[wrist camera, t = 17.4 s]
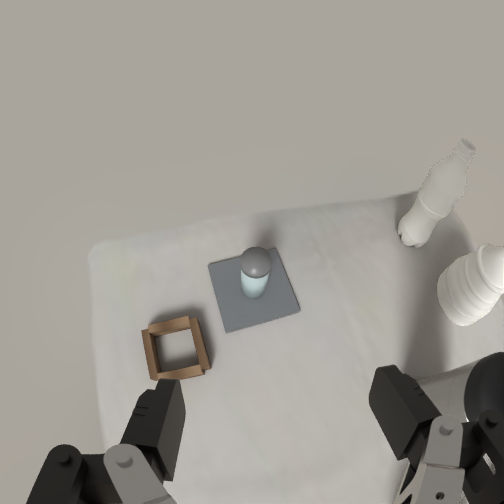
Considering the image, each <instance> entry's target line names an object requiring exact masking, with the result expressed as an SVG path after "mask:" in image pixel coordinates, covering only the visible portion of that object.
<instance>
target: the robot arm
mask: <svg viewBox="0 0 504 504" xmlns="http://www.w3.org/2000/svg"><path fill="white" fill-rule="evenodd" d="M369 404H370V407H371V409H372V411H373V413H374V415H375V417H376V419H377V421H378V423H379V425H380V427H381V429H382V431H383V433H384V435H385V436H386V438H387V440H388V442H389V444H390V446H391V448H392V450H393V452H394V454H395V456H396V458H397V460H401V459H404V458H407V457H408V459H409V463H408V464H407V467H406V470H405V473H404V476H403V479H402V481H401V484H400V487H399V490H398V492H397V495H396V497H395V499H394V501H393V503H392V504H459V502H460V497H461V492H462V490H463V492H464V494H465V496H466V498H467V500H468V502H469V504H504V352H498V353H494V354H491V355H489V356H487V357H484V358H482V359H479V360H477V361H474V362H472V363H469V364H467V365H464V366H462V367H459V368H456V369H453V370H450V371H447V372H444V373H441V374H438V375H435V376H432V377H428V378H425V379H422V380H418V381H416V380H415V379H413V378H412V377H410V376H409V375H407V374H402V373H401V372H400V370H399V369H398V368H397V366H396V365H389V366H384V367H378V368H377V369H376V371H375V375H374V379H373V382H372V386H371V390H370V393H369ZM185 414H186V412H185V404H184V399H183V395H182V390H181V385H180V381H179V379H167V378H160V379H159V381H158V383H157V386H156V389H155V390H151V389H147V390H146V391H145V392H144V393H143V394H142V395H141V396H140V397H139V399H138V401H137V403H136V406H135V408H134V410H133V413H132V415H131V417H130V420H129V422H128V425H127V427H126V430H125V432H124V435H123V437H122V439H121V442H120V444H118V445H115V446H113V447H111V448H109V449H108V450H107V451H106V453H105V454H91V455H89V454H81V453H80V452H79V450H78V449H77V448H75V447H74V446H71V445H66V444H63V445H58V446H56V447H54V448H53V449H52V450H51V451H50V452H49V454H48V456H47V458H46V460H45V462H44V464H43V466H42V468H41V471H40V473H39V475H38V477H37V479H36V482H35V484H34V486H33V488H32V491H31V493H30V495H29V498H28V500H27V503H26V504H177V503H176V502H175V501H174V499H173V498H172V497H171V496H170V495H169V494H168V492H167V491H166V490H165V488H164V487H163V482H164V480H165V481H172V482H173V477H174V472H175V467H176V462H177V457H178V451H179V447H180V442H181V437H182V432H183V427H184V422H185ZM485 453H487V455H488V456H489V458H490V460H491V461H492V463H493V464H494V466H495V469H496V472H495V475H493V473H492V471H491V470H490V468H489V466H488V465H487V463H486V462H485V460H484V458H483V456H484V455H485Z"/></svg>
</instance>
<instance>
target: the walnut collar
mask: <svg viewBox="0 0 504 504" xmlns="http://www.w3.org/2000/svg"><path fill="white" fill-rule="evenodd" d="M148 328H149V329H145V330H141V331H142V337H143V343H144V349H145V354H146V360H147V365H148V370H149V374H150V379H152V380H155V381H157V380H159V379H160V378H167V379H179V380H182V379H187V378H191V377H196V376H200V375H204V370H208V369H211V366H210V363H209V359H208V355H207V351H206V348H205V344H204V340H203V336H202V332H201V328H200V324H199V321H198V319H197V318H192V319H190V318H189V317H188V316H184V317H180V318H176V319H172V320H168V321H164V322H159V323H155V324H151V325H148ZM190 328H191V331H192V336H193V340H194V344H195V348H196V352H197V356H198V360H199V365H195V366H191V367H186V368H182V369H177V370H172V371H168V372H163V373H161V368H160V364H159V359H158V354H157V349H156V344H155V338H154V337H155V336H160V335H164V334H169V333H173V332H177V331H182V330H186V329H190Z"/></svg>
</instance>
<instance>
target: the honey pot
mask: <svg viewBox="0 0 504 504" xmlns="http://www.w3.org/2000/svg"><path fill="white" fill-rule="evenodd" d="M501 294H504V246H493V245H491V244H487V243H484V244H482V245H480V246H479V247H478V249H477V251H473V252H471V253H469V254H467V255H463V256H461V257H459V258H457V259H456V260H455V261H454V262H453V263H452V264H450V265H449V266H448V267H447V268H446V269H445V270H444V271H443V272H442V273H441V275H440V277H439V279H438V283H437V296H438V299H439V303H440V305H441V307H442V310H443V311H444V313H445V314H446V315H447V317H448V318H449V319H450V320H451V321H453V322H454V323H456V324H458V325H462V326H467V325H470V324H472V323H474V322H475V321H477V320H479V319H480V318H482V317H483V316H485V315H486V314H488V313H489V312H490V311H491V309H492V308H493V306H494V305H495V303H496V302H497V301H498V300H499V298H500V296H501Z"/></svg>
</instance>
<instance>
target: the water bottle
mask: <svg viewBox="0 0 504 504" xmlns="http://www.w3.org/2000/svg"><path fill="white" fill-rule="evenodd" d="M475 152H476V148H475V147H474V146H473V144H472V143H470V142H469V141H468V140H466V139H461V140H460V142H459V144H458V145H457V146H456V147H455V148H454V153H453V154H452V155H450V156H449V157H447V158H445V159H443V160H441V161H439V162H437V163H436V164H435V165H434V166H433V167H432V168H431V170H430V173H429V174H428V176H427V178H426V180H425V181H424V183H423V185H422V187H421V188H420V189H419V192H418V195H417V198H416V200H415V203H414V204H413V206H412V208H411V209H410V210H409V211H408V213H406V214H405V215H404V216H402V218H401V220H400V222H399V225H398V234H399V235H402V237H401V240H402V242H403V244H405V245H406V246H413V245H414V247H420V246H422V245H424V244H425V243H426V242H427V241H428V240H429V238H430V236H431V233H432V231H433V229H434V227H435V226H436V224H437V223H438V222H439V221H440V220H441V219H443V218H445V217H446V216H447V215H448V214H449V212H450V211H451V209H452V208H453V207H454V205H455V204H456V202H457V201H458V199H459V198H460V197H462V195H463V193H464V191H465V187H466V178H467V167H468V164H469V163H471V162H472V158H473V155H474V154H475Z"/></svg>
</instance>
